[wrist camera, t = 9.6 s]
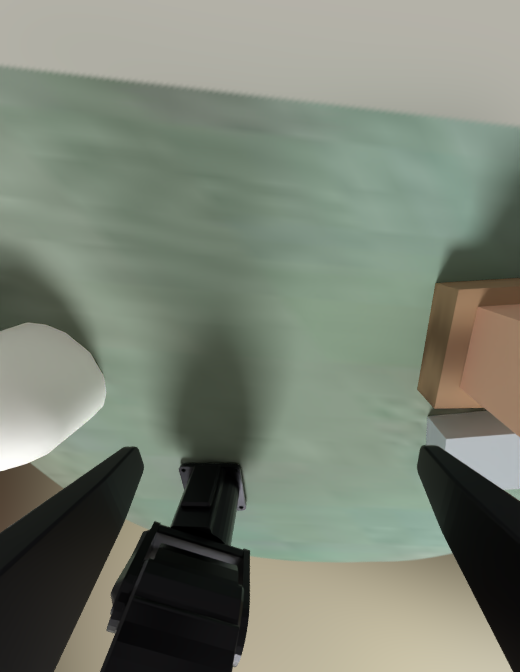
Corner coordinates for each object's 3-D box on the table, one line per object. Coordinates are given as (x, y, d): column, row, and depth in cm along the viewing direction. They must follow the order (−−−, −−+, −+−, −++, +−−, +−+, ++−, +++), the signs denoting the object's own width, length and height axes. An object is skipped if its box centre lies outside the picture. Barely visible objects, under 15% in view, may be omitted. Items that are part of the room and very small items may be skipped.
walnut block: (529, 383, 21) (567, 406, 18) (414, 386, 22) (434, 408, 19) (568, 273, 17) (622, 279, 15) (431, 282, 18) (458, 289, 16)
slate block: (491, 459, 24) (519, 488, 21) (423, 463, 24) (441, 492, 22) (500, 407, 21) (533, 432, 19) (425, 414, 22) (446, 439, 20)
